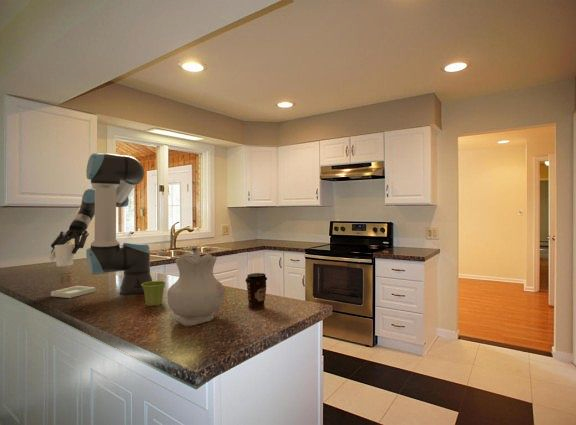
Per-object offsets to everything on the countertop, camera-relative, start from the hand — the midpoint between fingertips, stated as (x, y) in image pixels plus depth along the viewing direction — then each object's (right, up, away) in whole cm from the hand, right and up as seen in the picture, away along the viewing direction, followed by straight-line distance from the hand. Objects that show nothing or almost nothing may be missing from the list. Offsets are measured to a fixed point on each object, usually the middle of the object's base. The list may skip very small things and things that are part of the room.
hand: (59, 258), depth 159 cm
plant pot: (+55, -16, -23) cm, 61 cm away
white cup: (0, -4, +3) cm, 5 cm away
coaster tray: (+8, -16, -2) cm, 18 cm away
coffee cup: (+98, -15, -31) cm, 104 cm away
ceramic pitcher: (+77, -15, -42) cm, 90 cm away
